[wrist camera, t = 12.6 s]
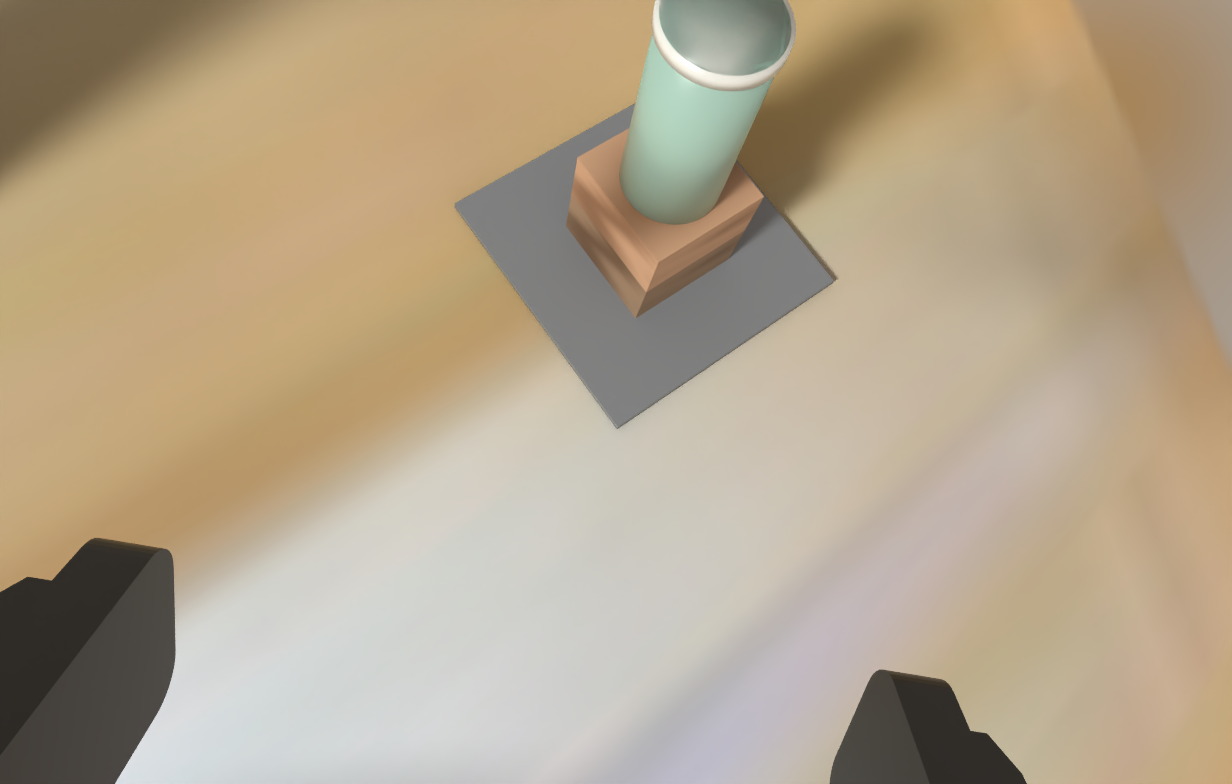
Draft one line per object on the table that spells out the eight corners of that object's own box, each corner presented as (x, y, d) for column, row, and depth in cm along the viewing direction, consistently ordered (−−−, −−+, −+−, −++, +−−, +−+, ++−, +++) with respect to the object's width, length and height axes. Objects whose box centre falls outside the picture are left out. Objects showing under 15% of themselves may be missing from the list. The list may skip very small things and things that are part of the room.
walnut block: (565, 226, 46) (571, 194, 43) (659, 171, 47) (670, 136, 44) (635, 318, 45) (646, 292, 42) (728, 259, 46) (744, 229, 43)
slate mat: (454, 207, 46) (454, 203, 45) (671, 86, 50) (673, 82, 49) (617, 429, 43) (618, 426, 43) (831, 283, 47) (834, 280, 47)
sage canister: (593, 160, 40) (625, -6, 30) (682, 114, 41) (738, -59, 32) (658, 246, 39) (711, 102, 29) (746, 195, 40) (824, 42, 31)
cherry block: (571, 194, 43) (577, 157, 40) (670, 136, 44) (683, 97, 41) (646, 292, 42) (658, 262, 39) (744, 229, 43) (764, 196, 40)
